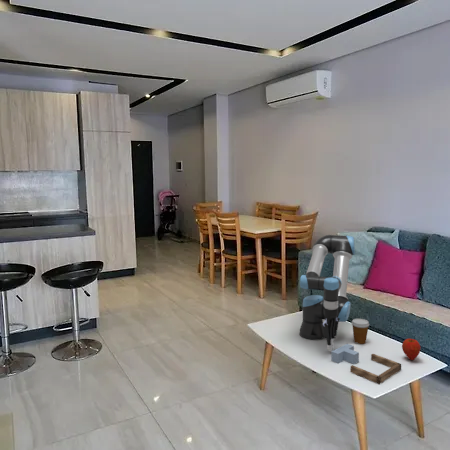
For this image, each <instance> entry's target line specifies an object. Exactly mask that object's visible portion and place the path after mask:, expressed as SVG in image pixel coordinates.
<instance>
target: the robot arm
mask: <svg viewBox="0 0 450 450" xmlns="http://www.w3.org/2000/svg"><path fill="white" fill-rule="evenodd" d="M355 246H356V245H355V238H354V236H353V235H336V234H333V235H332V234H327V235H323V236H321V237H320V238H319V239H317V240H316V241H315V242H314V244H313V246H312V249H311V251H312V254H311V257H310V260H309V264H308V267H307V270H306V274H301V276H300V278H299V287H300V288H301V289H305V290H313V291H323V295H320V294H312V295H307V296H305V297H304V298H303V300H302V304H301V305H302V306H301V307H302V323H301V325H300V328H299V335H300V337H302V338H304V339H307V340H315V341H317V340H322V339H326V345H327V347H326V348H327V349H326V350H327V351H329V352H332V351H333V350H334V341H335V340H334V339H336V338H337V333H338V328H339V322H341V323H342V322H343V323H344V322H347V321H348V320H349V316H350V312H351V305H352V303H351V301H349V298H348V297H347V289H348V278H349V267H350V260H352V259H353V256H355V255H356V247H355ZM328 254H332V256H333V257H334V263H333V272H332V273H333V274H332V276H331V277H327V276H321V273H322V269H323V265H324V262H325V257H327V256H328ZM323 320H324V321H323Z"/></svg>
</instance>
